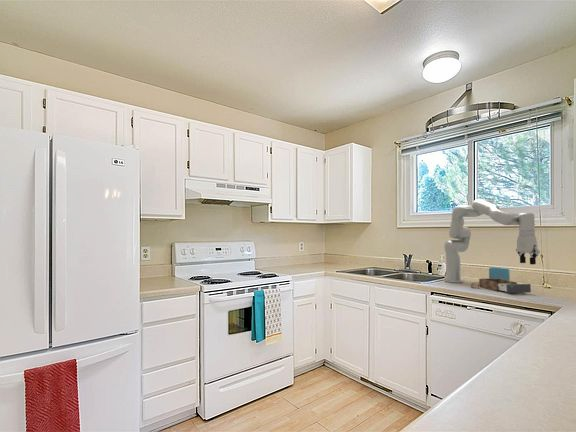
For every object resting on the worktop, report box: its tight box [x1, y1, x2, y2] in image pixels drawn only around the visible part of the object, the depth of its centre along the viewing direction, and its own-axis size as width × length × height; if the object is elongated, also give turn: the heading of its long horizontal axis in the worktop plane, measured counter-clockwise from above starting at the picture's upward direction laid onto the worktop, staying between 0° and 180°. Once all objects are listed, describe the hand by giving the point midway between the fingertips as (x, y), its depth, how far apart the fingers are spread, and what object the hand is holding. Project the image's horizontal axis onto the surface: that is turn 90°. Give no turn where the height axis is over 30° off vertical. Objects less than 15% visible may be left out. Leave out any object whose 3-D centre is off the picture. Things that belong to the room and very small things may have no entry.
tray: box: [498, 283, 532, 294], centre depth 198 cm, size 16×15×5 cm
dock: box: [478, 278, 518, 292], centre depth 207 cm, size 16×14×6 cm
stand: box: [470, 281, 480, 289], centre depth 210 cm, size 5×5×4 cm
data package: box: [488, 266, 511, 281], centre depth 224 cm, size 12×4×12 cm, turn 51°
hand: (527, 263), depth 184 cm, fingers open, 6 cm apart
